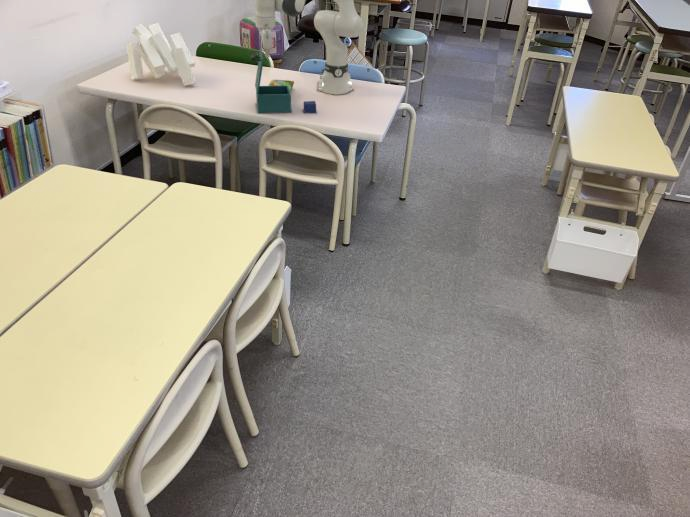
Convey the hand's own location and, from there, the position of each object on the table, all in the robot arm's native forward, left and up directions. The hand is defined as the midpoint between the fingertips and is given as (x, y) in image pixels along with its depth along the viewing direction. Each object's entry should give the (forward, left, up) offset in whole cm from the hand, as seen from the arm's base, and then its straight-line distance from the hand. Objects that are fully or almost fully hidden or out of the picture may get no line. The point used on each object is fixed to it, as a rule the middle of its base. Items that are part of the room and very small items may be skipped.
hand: (266, 54), depth 251 cm
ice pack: (+4, +20, -26) cm, 33 cm away
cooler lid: (-1, -3, -9) cm, 10 cm away
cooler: (-1, +3, -26) cm, 26 cm away
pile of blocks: (-45, -51, -26) cm, 73 cm away
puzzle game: (-21, +8, -26) cm, 35 cm away
